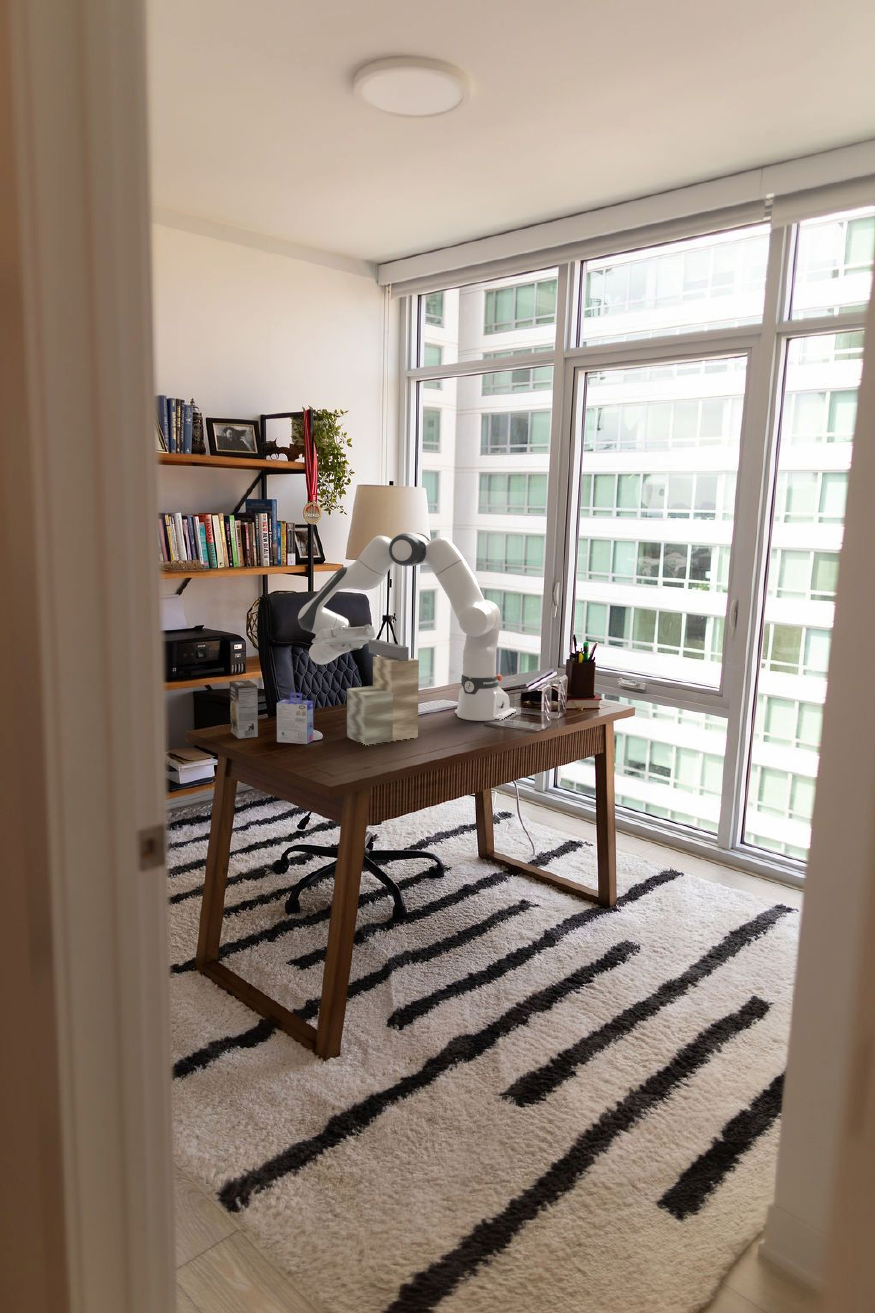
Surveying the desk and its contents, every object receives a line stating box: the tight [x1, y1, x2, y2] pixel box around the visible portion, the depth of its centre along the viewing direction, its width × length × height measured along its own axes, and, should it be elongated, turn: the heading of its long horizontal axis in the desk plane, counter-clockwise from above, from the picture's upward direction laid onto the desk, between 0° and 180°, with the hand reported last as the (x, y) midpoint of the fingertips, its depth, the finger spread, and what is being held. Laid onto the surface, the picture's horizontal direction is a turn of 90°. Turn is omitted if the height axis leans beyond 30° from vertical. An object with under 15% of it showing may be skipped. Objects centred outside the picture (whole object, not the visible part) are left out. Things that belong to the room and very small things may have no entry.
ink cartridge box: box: [276, 692, 314, 745], centre depth 265 cm, size 10×6×14 cm, turn 78°
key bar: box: [368, 639, 410, 661], centre depth 274 cm, size 19×3×4 cm, turn 34°
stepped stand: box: [346, 655, 420, 746], centre depth 270 cm, size 12×18×24 cm, turn 124°
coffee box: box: [228, 679, 259, 739], centre depth 272 cm, size 9×6×16 cm
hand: (356, 627), depth 289 cm, fingers open, 8 cm apart
